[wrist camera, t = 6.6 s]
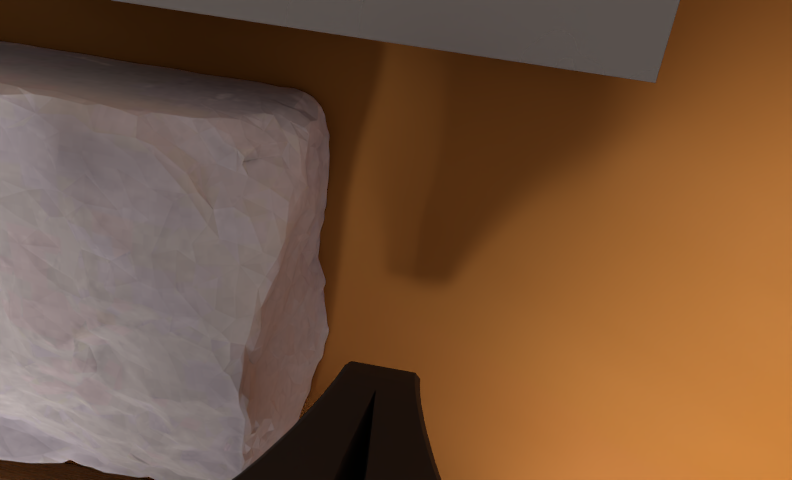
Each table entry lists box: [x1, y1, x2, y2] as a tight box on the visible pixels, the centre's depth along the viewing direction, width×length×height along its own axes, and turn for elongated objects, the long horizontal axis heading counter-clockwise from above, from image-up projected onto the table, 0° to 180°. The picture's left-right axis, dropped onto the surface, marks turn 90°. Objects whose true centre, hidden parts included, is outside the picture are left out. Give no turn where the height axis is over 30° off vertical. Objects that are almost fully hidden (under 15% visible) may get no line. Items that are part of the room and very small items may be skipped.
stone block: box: [0, 41, 330, 480], centre depth 14 cm, size 12×5×10 cm
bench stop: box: [0, 0, 680, 480], centre depth 13 cm, size 15×21×4 cm
